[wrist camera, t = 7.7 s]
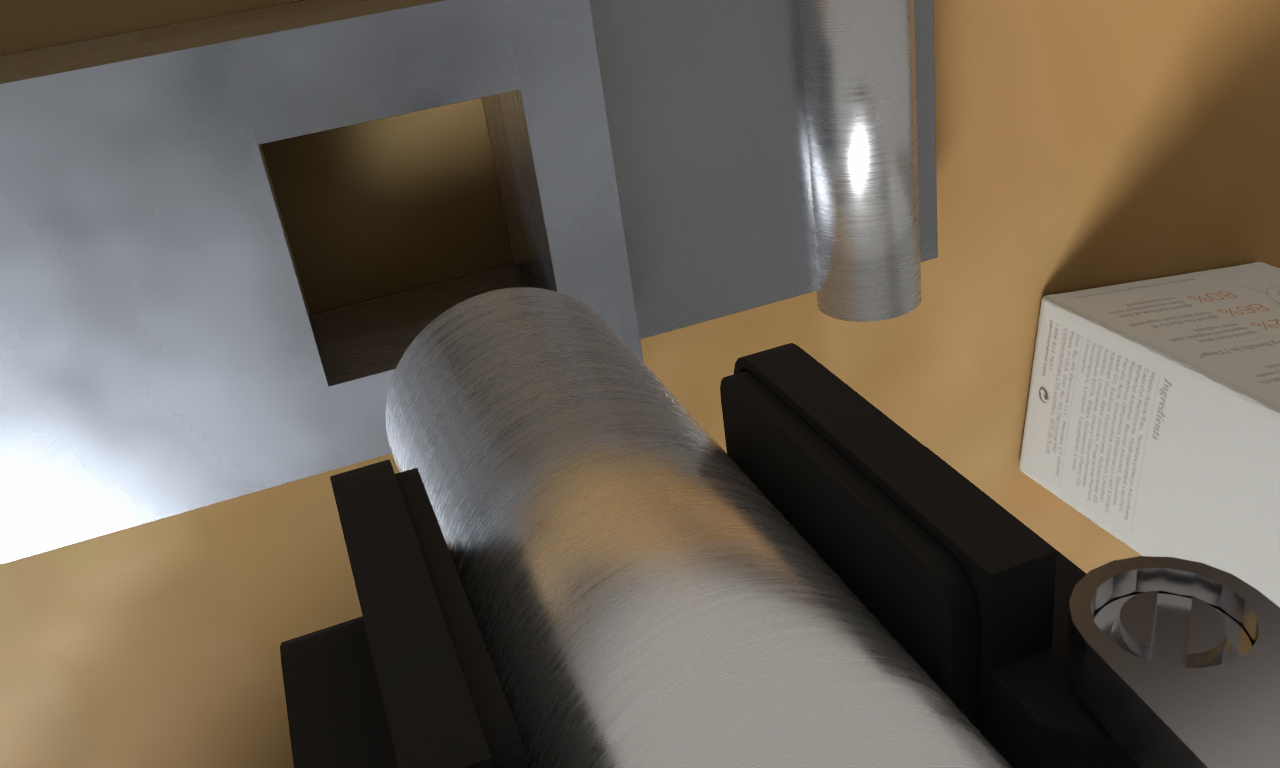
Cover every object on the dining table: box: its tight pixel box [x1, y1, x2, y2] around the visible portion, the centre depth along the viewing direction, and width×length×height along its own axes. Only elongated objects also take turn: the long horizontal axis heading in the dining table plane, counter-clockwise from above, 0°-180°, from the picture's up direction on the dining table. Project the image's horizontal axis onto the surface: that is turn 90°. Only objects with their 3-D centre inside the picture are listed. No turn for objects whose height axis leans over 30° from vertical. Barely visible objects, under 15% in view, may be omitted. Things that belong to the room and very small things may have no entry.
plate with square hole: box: [0, 0, 938, 564], centre depth 22 cm, size 24×9×5 cm, turn 98°
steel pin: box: [385, 287, 1012, 768], centre depth 9 cm, size 3×3×10 cm
